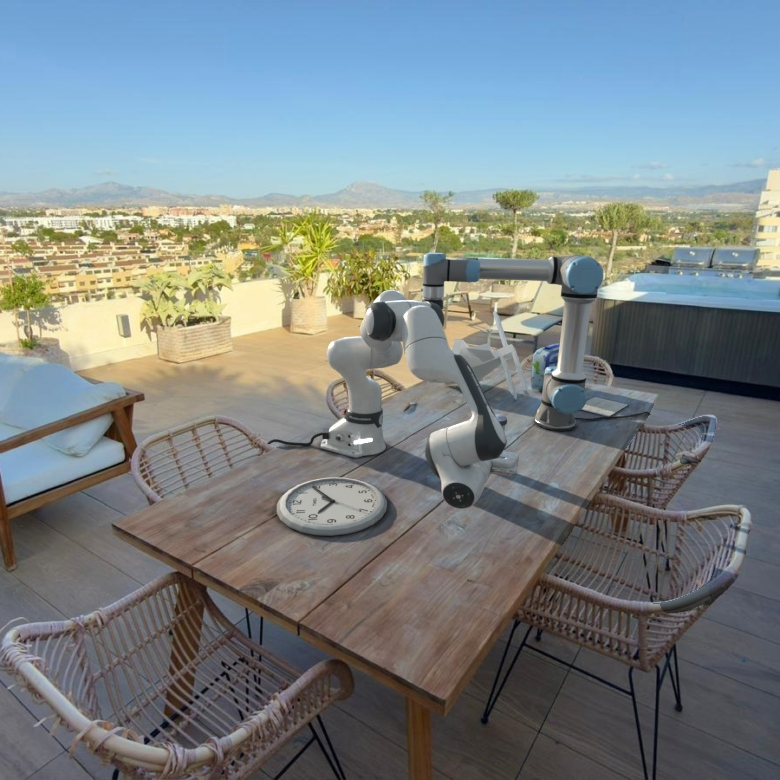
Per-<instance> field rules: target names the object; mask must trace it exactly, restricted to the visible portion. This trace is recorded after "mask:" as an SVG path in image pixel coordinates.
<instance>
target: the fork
mask: <svg viewBox="0 0 780 780" xmlns="http://www.w3.org/2000/svg"><path fill="white" fill-rule="evenodd" d="M418 398H419V397H418V396H413V397H412V398H411V400H410V402H409V404H408V405H407V406H406V407H405V409H404V410H403V412H405V411H407V410H408V409H410V408H411V406H412V405H416V404H417V402H418Z"/></svg>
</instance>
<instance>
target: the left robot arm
mask: <svg viewBox="0 0 780 780" xmlns="http://www.w3.org/2000/svg"><path fill="white" fill-rule="evenodd" d="M444 326H445V314H444V311H443V309H441V308H440V306H439V305H437V304H435V303H432V302H428V301H424V302H422V300H421V301H420V300H412V299H410V300H409V299H407V297H406V295H404V294H403V293H401V292H400V291H398V290H395V289H387V290H384V291H382V292H381V293H380V294H379V295H378V296H377V297H376V298H375V299H374V300H373V302H371V303H370V304H369V305H368V306H367V308H366V309H365V312H364V318H363V319H362V321H361V323H360V326H359V334H360V335H358V336H346V337H341V338H338V339H335V340H332V341H331V342H330V343H329V344H328V347H327V349H326V359H327V363H328V365H329V366H330V368H331V369H333V370H334V371H335V372H337V373H338V374H339V375H340V376H341V377H342V378H343V379H344V382H345V385H346V386H347V394H348V405H347V406H346V407H345V408H344V409H343V411H341V416H344V417H342V418H340V419H339V420H337V421H336V422H335V423H333V424H332V425H331V426H330V428H328V427H327V428H324V427H323V428H322V431H320V432H318V433H316V434H314V435H312V437H311V438H310V441H308V442H295V441H294V442H293V441H286V440H282V439H279V438H274V439H271V440H269V441H268V442H266V444H267V445H271V444H272V443H279V444H283V445H287V446H297V447H299V446H301V447H309V446H311V445H312V444H313V443H314V440H315V439H316V438H318V437H321V436H322V438H321V439H322V440H321V442H320V449H323V450H326V451H329V452H333V453H336V454H341V455H343V456H347V457H351V458H355V459H356V458H361V457H363V456H372V455H377V454H380V453H382V452H384V451H385V450H386V448H387V446H386V443H385V442H386V441H385V438H384V432H383V423H384V410H383V409H384V408H383V407H382V402H383V401H382V399H383V398H382V397H383V395H382V394H383V391H382V390H383V389H382V387H381V386H382V385H380V383H379V382H378V381H376V380H375V379H373V378H370V377H368V376H367V370H376V369H386V368H389V367H392V366H395V365H397V364H399V363H400V361H401V360H402V358H403V353H404V356H405V361H406V364H407V368H408V369H409V371H410V373H411V374H412V375H413V376H414V377H416V378H417V379H419V380H422V381H423V382H428V383H434V384H444V383H455V384H454V385H457V386H458V388H459V389H460V391H461V393H462V395H463V398H464V399H465V402H466V404H467V406H468V408H469V410H470V412H471V413H470V414H471V417H470V418H469V419H468V420H467V419H466V420H465V421H461V422H459V423H456V424H453V425H449V426H447V427H446V426H445V427H444V428H441V429H437V430H435V431H432V432H431V433H430V434H429V435H428V437H427V440H426V443H425V449H424V455H425V459H426V462H427V465H428V467H429V469H430V470H431V471H432V473H433V474H434V475H435V476H436V477H437V478H438V479H439V480H440V483H441V495H442V498H443V500H444V502H445V503H446V504H448V505H449V506H450V507H452V508H455V509H468V508H470V507H472V506H473V505H475V504H476V503H477V502H478V500H479V499H480V497H481V496H482V494H483V492H484V489H485V487H486V484H487V482H488V480H489V478H490V474H492V475H499V476H506V477H507V476H512V475H513V474H514V475H515V474H516V473H517V472H518V467H519V458H520V455H519V454H518V453H516V452H512V451H506V450H505V448H506V446H507V444H508V441H507V436H506V432H505V431H504V430H503V428H502V426H501V424H500V423H499V421H498V420H497V418H496V416H495V414H496V413H494V411H493V409H492V407H491V405H490V403H489V400H488V399H487V396H486V394H485V392H484V391H483V390H484V389H482V386H481V384H480V382H478V380H477V378H476V376H475V374H474V372H473V370H472V369H471V367H470V365H469V364H468V362H467V361H466V360H465V358H464V357H463V356H461V355H458V354H454V353H453V352H452V349H451V347H450V345H449V342H448V338H447V335H446V332H445V329H444Z"/></svg>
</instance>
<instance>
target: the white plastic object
mask: <svg viewBox="0 0 780 780" xmlns="http://www.w3.org/2000/svg"><path fill="white" fill-rule="evenodd" d="M492 315H493V319H494V321H495V324H496V325H495V326H496V328H497V332H498V335H499V338H500V342H501V345H502V347H500V348H498V349H496V350H495V349H493V348H492V347H491V346H490V344H489V343H488V342H487V343H483V344H479V345H473V346H469V345H468V343H466V342H465V340H464V339H463V338H460V339H458V338H454V340H453V344H452V349H451V350H452V352H453V353H454V354H458V355H461V356H463V357H464V358H465V360H466V361H467V362H468V364H469V365H470V367H471V369H472V370H473V372H474V374H475V376H476V378H477V380H478V382H479V383H480V382H482V381H484V378H485V377H486V376H487V375H489V374H490V373H492V372H494V371H495V370H496V369H497V368H499V367H500V366H502V370H503V373H504V376H505V380H506V383H507V386H508V390H509V393H510V394H511V395H512V397H513V398H514V399H515V400H517V392H516V391H517V390H516V388H515V385H514V381H513V378H512V375H511V371H510V369H509V365H508V361H510V360H513V363H514V366H515V369H516V372H517V376H518V380H519V382H520V385H521V389H522V391H523V393H524V395H525V396H526V397H528V396H531V395H530V390H529V388H528V387H529V386H528V384H527V381H526V378H525V375H524V371H523V369H522V368H523V367H522V366H521V362H520V359H519V355H518V352H517V349H516V347H515V346H514V345H513V343H511V344H508V341H507V337H506V334H505V331H504V328H503V325H502V321H501V318H500V315H499V314H498V312H497V311H496V310H495V311H492ZM443 384H444V385H445V386H449V385H456V384H455V383H443Z"/></svg>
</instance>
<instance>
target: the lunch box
mask: <svg viewBox="0 0 780 780" xmlns="http://www.w3.org/2000/svg"><path fill="white" fill-rule="evenodd" d="M559 346H560V343H553V344H550V345H547V346H546V345H545V346H544V347H541V348H538V349H537V350H536V351H535V352H534V354H533V357H532V362H531V371H530V372H531V374H530V387H531V389H533V390H539V391H543V382H544V373H545V369H546V368H547V367H553V366H557V364H558V355H559Z"/></svg>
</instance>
